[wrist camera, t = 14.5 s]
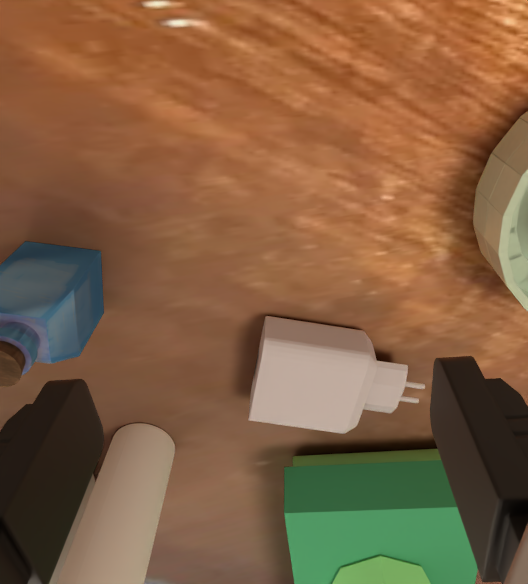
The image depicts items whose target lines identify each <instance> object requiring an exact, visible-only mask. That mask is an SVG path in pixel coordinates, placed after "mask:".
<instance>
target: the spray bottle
mask: <svg viewBox="0 0 528 584" xmlns="http://www.w3.org/2000/svg"><path fill="white" fill-rule="evenodd" d="M174 455H175V445H174V442H173V440H172V438H171V437H170V436H169V435H168V434H167V433H166V432H165V431H164V430H162V429H160V428H158V427H156V426H153V425H150V424H145V423H134V424H129V425H126V426H124V427H122V428H120V429H119V430H118V431H117V432H116V433H115V435H114V436H113V439H112V441H111V444H110V446H109V449H108V452H107V454H106V457H105V459H104V462H103V464H102V467H101V470H100V472H99V475H98V477H97V480H96V483H95V485H94V488H93V490H92V493H91V495H90V498H89V501H88V503H87V506H86V508H85V511H84V514H83V516H82V519H81V521H80V524H79V526H78V529H77V532H76V534H75V537H74V539H73V542H72V545H71V547H70V550H69V552H68V555H67V557H66V560H65V563H64V565H63V568H62V571H61V573H60V576H59V578H58V581H57V584H144V580H145V576H146V572H147V568H148V564H149V559H150V555H151V551H152V547H153V543H154V539H155V534H156V530H157V526H158V522H159V518H160V513H161V509H162V505H163V501H164V497H165V492H166V488H167V484H168V480H169V476H170V471H171V467H172V463H173V459H174Z"/></svg>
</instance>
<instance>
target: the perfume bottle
mask: <svg viewBox="0 0 528 584" xmlns="http://www.w3.org/2000/svg"><path fill="white" fill-rule="evenodd" d="M103 313H104V306H103V285H102V264H101V251H98V250H90V249H82V248H74V247H66V246H59V245H51V244H43V243H35V242H27V241H25V242H24V243H23V244H22V245H21V246H20V247H19V248H18V249H17V250H16V251H15V252H14V253H13V254H12V255H10V256H9V257H8V258H7V259H6V260H5V261H4V262H3V263H2V264H1V265H0V387H9V386H12V385H15V384H16V383H17V382H19V380H20V378H21V375H24V374H25V373H26V372H28V371H29V369H30V368H31V366H32V365H33V364H34V362H41V363H50V364H51V363H55V362H59V361H63V360H67V359H70V358H74V357H78V356H80V354H81V352H82V350H83V349H84V347H85V345H86V343H87V342H88V340H89V338H90V336H91V335H92V333H93V331H94V329H95V328H96V326H97V324H98V322H99V321H100V319H101V317H102V315H103Z"/></svg>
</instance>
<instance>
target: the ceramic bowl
mask: <svg viewBox="0 0 528 584" xmlns="http://www.w3.org/2000/svg"><path fill="white" fill-rule="evenodd" d="M473 226H474V230H475V233H476V237H477V240H478V244H479V248H480V251H481V253H482V255H483V256H484V257H485V258H486V260H487V261H488V262H489V264H490V265H491V266H492V268H493V269H494V270H495V272H496V273H497V274H498V275H499V277H500V278H501V279H502V281H503V282H504V283H505V285H506V286H507V287H508V288H509V290H510V291H511V292H512V294H513V295H514V296H515V297H516V299H517V300H518V301H519V302H520V304H521V305H522V306H523V307H524V309H525V310H527V311H528V111H527V112H526V113H524V114H523V115H522V116H520V117H519V119H518V120H517V121H516V122H515V124H514V125H513V126H512V127H511V129H510V130H509V131H508V132H507V134H506V135H505V136H504V137H503V139H502V140H501V141H500V142H499V144H498V145H497V146H496V147H495V149H494V150H493V151H492V153H491V155H490V157H489V159H488V162H487V164H486V166H485V169H484V171H483V173H482V176H481V178H480V180H479V183H478V185H477V187H476V193H475V204H474V214H473Z"/></svg>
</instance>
